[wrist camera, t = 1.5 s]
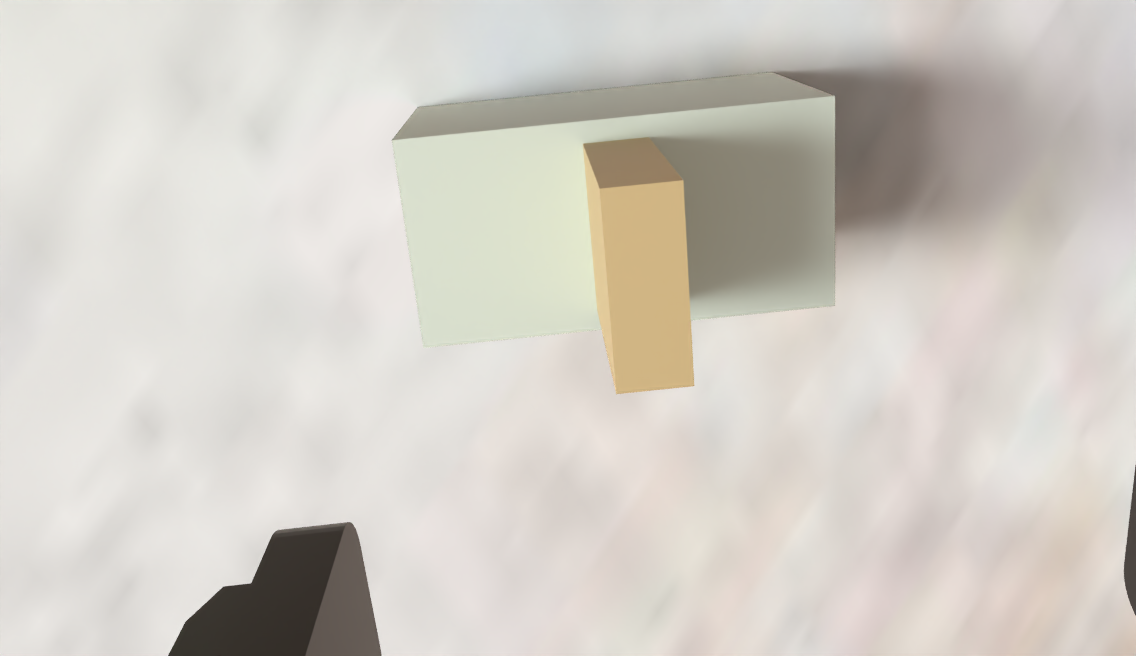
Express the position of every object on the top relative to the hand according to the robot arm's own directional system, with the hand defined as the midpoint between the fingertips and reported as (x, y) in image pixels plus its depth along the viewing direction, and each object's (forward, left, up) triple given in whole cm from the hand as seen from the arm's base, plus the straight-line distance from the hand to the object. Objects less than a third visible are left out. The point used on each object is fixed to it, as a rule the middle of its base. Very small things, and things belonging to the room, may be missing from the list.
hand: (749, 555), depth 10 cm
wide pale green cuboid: (0, 0, -20) cm, 20 cm away
